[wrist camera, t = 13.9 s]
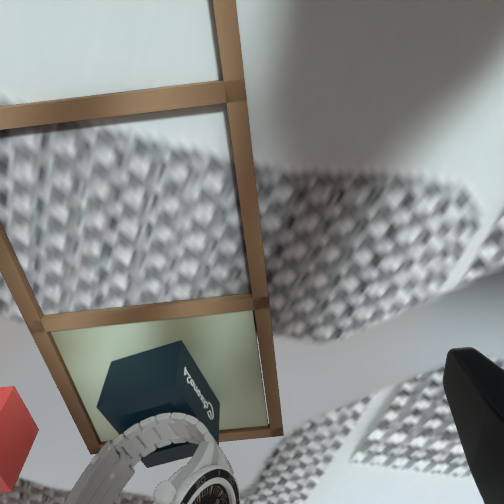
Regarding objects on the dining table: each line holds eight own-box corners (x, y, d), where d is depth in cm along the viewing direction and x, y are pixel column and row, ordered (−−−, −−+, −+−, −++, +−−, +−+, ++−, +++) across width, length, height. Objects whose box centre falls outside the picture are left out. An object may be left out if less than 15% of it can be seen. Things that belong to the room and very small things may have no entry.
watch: (250, 394, 27) (258, 620, 17) (130, 427, 28) (77, 655, 18) (214, 328, 24) (200, 555, 14) (82, 368, 25) (-9, 601, 16)
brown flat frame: (198, -337, 12) (197, -346, 11) (283, 430, 29) (283, 435, 28) (-256, -271, 12) (-270, -278, 12) (92, 448, 29) (90, 454, 29)
